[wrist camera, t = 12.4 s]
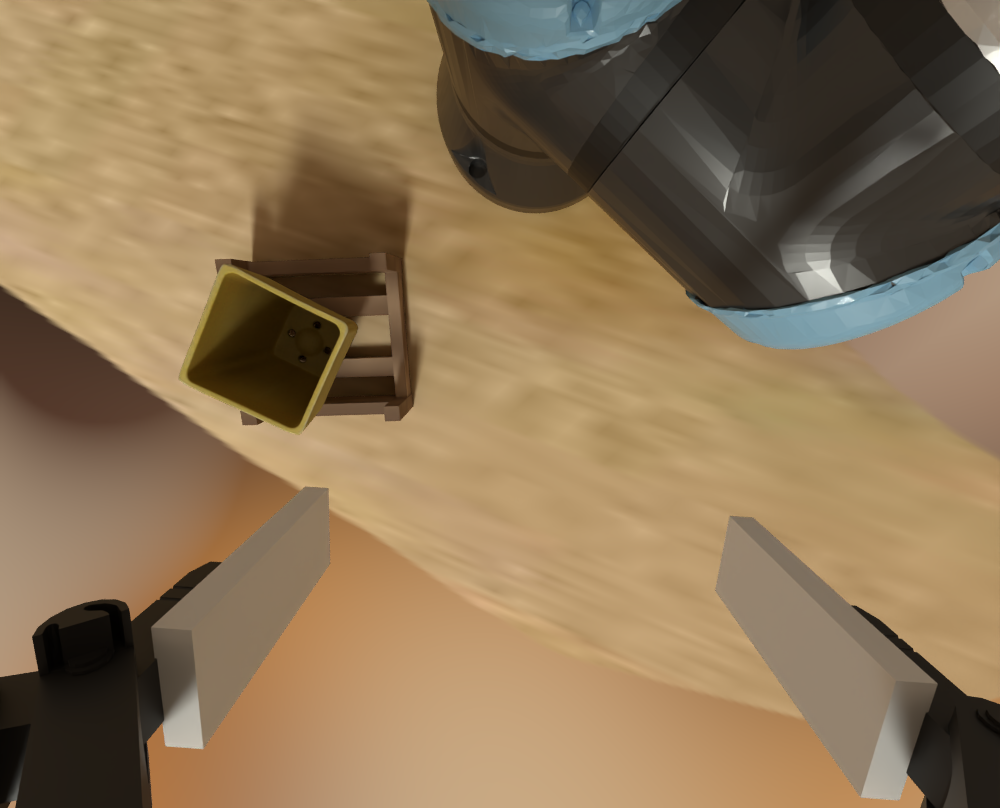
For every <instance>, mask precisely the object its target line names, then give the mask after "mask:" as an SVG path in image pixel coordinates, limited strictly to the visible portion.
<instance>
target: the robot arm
mask: <svg viewBox="0 0 1000 808" xmlns="http://www.w3.org/2000/svg"><path fill="white" fill-rule="evenodd" d="M427 2H428V3H429V6H430V9H431V12H432V16H433V19H434V23H435V26H436V30H437V33H438V36H439V40H440V43H441V47H442V50H443V57H442V60H441V64H440V68H439V74H438V81H437V111H438V118H439V123H440V128H441V132H442V135H443V138H444V141H445V143H446V146H447V148H448V151H449V153H450V155H451V157H452V159H453V161H454V163H455V165H456V167H457V168H458V170H459V171H460V173H461V174H462V176H463V177H464V178H465V179H466V181H467V182H468V183H469V184H470V185H471V186H472V187H473V188H474V189H475V190H476V191H477V192H479V193H480V194H481V195H483V196H484V197H485V198H487V199H488V200H490V201H492V202H493V203H495V204H497V205H500V206H502V207H504V208H507V209H510V210H514V211H518V212H524V213H546V212H552V211H557V210H560V209H563V208H566V207H569V206H571V205H574V204H575V203H577V202H579V201H581V200H583V199H584V198H586V197H587V196H589V197H590V198H591V199H592V200H593V201H594V202H595V203H596V204H597V205H598V206H600V207H601V208H602V209H603V210H604V211H605V212H606V213H607V214H608V215H609V216H610V217H611V218H612V219H613V220H614V221H615V222H616V223H617V224H618V225H619V226H620V227H621V228H622V229H623V230H624V231H626V232H627V233H628V234H629V235H630V236H631V237H632V238H633V239H634V240H635V241H636V242H637V243H638V244H639V245H640V246H641V247H642V248H643V249H644V250H645V251H646V252H647V253H648V254H649V255H651V256H652V257H653V258H654V259H655V260H656V261H657V262H658V263H659V264H660V265H661V266H662V267H663V268H664V269H665V270H666V271H667V272H668V273H669V274H670V275H671V276H672V277H673V278H674V279H675V280H677V281H678V282H679V283H680V284H681V285H682V286H683V287H684V288H685V290H686V295H687V296H688V297H689V298H690V299H691V300H692V301H693V302H694V303H695V304H696V305H697V306H699V307H701V308H703V309H705V310H707V311H709V312H711V313H712V314H714V315H715V316H716V317H717V318H718V319H719V320H721V321H722V322H723V323H724V324H725V325H726V326H727V327H729V328H730V329H731V330H732V331H733V332H734V333H736V334H737V335H738V336H740V337H741V338H743V339H745V340H747V341H749V342H752V343H757V344H760V345H763V346H765V347H771V348H775V349H806V348H814V347H821V346H826V345H832V344H836V343H840V342H844V341H848V340H851V339H855V338H858V337H861V336H865V335H868V334H871V333H873V332H876V331H879V330H882V329H884V328H887V327H889V326H892V325H894V324H896V323H899V322H901V321H903V320H906V319H908V318H910V317H912V316H914V315H916V314H918V313H920V312H922V311H924V310H926V309H928V308H930V307H932V306H934V305H935V304H937V303H939V302H941V301H942V300H944V299H946V298H947V297H949V296H951V295H952V294H954V293H956V292H957V291H959V290H960V289H961V288H963V285H964V278H963V277H964V276H966V275H968V274H971V273H975V272H979V271H983V270H986V269H989V268H990V267H991V266H993V265H994V264H995V263H996V262H997V261H998V260H999V259H1000V0H427ZM329 537H330V536H329V488H318V487H304V488H303V489H302V490H301V491H300V492H299V493H298V494H297V495H296V496H294V497H293V498H292V499H291V500H290V501H289V502H288V503H287V504H286V505H285V506H284V507H283V508H281V509H280V510H279V511H278V512H277V513H276V514H275V515H274V516H273V517H271V518H270V519H269V520H268V521H267V522H266V523H265V524H264V525H263V526H262V527H260V528H259V529H258V530H257V531H256V532H255V533H254V534H253V535H252V536H251V537H250V538H248V539H247V540H246V541H245V542H244V543H243V544H242V545H241V546H240V547H239V548H237V549H236V550H235V551H234V552H233V553H232V554H231V555H230V556H229V557H228V558H226V559H225V560H224V561H223V562H209V563H207V564H205V565H203V566H201V567H199V568H197V569H195V570H193V571H191V572H189V573H188V574H187V575H186V576H184V577H183V578H182V579H181V580H180V581H179V582H177V583H176V584H175V585H174V586H173V589H169V590H168V591H167V592H166V593H164V594H163V595H162V596H161V597H160V600H156V601H155V602H154V603H153V604H151V605H150V606H149V607H148V608H147V609H146V610H145V611H143V612H142V613H141V614H140V615H139V616H137V617H136V618H135V619H134V620H133V621H131V619H130V612H129V608H128V606H127V604H126V603H125V602H122V601H119V600H114V599H113V600H97V601H92V602H87V603H83V604H80V605H77V606H74V607H71V608H69V609H66V610H64V611H62V612H60V613H58V614H56V615H54V616H53V617H51V618H49V619H48V620H47V621H46V622H44V623H43V624H42V625H40V626H39V627H38V628H37V630H36V632H35V633H34V635H33V636H32V638H33V644H34V649H35V655H36V660H37V665H38V671H36V672H30V673H24V674H18V675H11V676H5V677H0V808H8V806H9V804H10V802H11V801H15V800H17V801H16V807H15V808H152V799H151V784H150V769H149V757H148V747H147V741H148V739H149V738H150V737H151V736H152V734H153V733H154V732H155V731H156V730H157V728H158V727H159V726H160V725H161V724H162V722H163V731H164V739H165V746H170V747H184V748H185V747H186V748H198V749H203V748H204V747H205V746H206V744H207V743H208V741H209V740H210V738H211V737H212V735H213V734H214V733H215V731H216V730H217V728H218V726H219V725H220V724H221V722H222V721H223V719H224V718H225V716H226V715H227V713H228V712H229V710H230V709H231V708H232V706H233V705H234V703H235V702H236V700H237V699H238V697H239V696H240V695H241V693H242V692H243V690H244V689H245V687H246V686H247V684H248V683H249V681H250V680H251V678H252V677H253V676H254V674H255V672H256V671H257V670H258V668H259V667H260V665H261V664H262V662H263V661H264V659H265V658H266V657H267V655H268V654H269V652H270V651H271V649H272V648H273V646H274V645H275V643H276V642H277V640H278V639H279V637H280V636H281V635H282V633H283V632H284V630H285V629H286V627H287V626H288V624H289V623H290V621H291V620H292V618H293V617H294V616H295V614H296V613H297V611H298V610H299V608H300V607H301V605H302V604H303V602H304V601H305V599H306V598H307V596H308V595H309V594H310V592H311V591H312V589H313V587H314V586H315V585H316V583H317V582H318V580H319V579H320V578H321V576H322V575H323V573H324V572H325V570H326V569H327V567H328V566H329V564H330V542H329V541H330V538H329ZM715 591H716V592H717V594H718V595H719V597H720V598H721V600H722V601H723V602H724V604H725V605H726V607H727V608H728V610H729V611H730V612H731V614H732V615H733V617H734V618H735V619H736V621H737V622H738V624H739V625H740V627H741V628H742V629H743V631H744V632H745V634H746V635H747V637H748V638H749V639H750V641H751V642H752V644H753V645H754V647H755V648H756V649H757V651H758V652H759V654H760V655H761V656H762V658H763V659H764V661H765V662H766V664H767V665H768V666H769V668H770V669H771V671H772V672H773V674H774V675H775V676H776V678H777V679H778V681H779V682H780V684H781V685H782V686H783V688H784V689H785V691H786V692H787V693H788V695H789V696H790V698H791V699H792V701H793V702H794V703H795V705H796V706H797V708H798V709H799V711H800V712H801V713H802V715H803V716H804V718H805V719H806V721H807V722H808V723H809V725H810V726H811V728H812V729H813V730H814V732H815V733H816V735H817V736H818V738H819V739H820V740H821V742H822V743H823V745H824V746H825V748H826V749H827V750H828V752H829V753H830V754H831V756H832V757H833V759H834V760H835V762H836V763H837V765H838V766H839V768H840V769H841V770H842V772H843V773H844V775H845V776H846V777H847V779H848V780H849V782H850V783H851V785H852V786H853V787H854V789H855V790H856V792H857V793H858V795H859V796H860V797H861V798H875V799H888V800H900V797H901V794H902V791H903V788H904V785H905V781H906V779H907V776H909V777H910V778H911V779H912V780H913V782H914V783H915V784H916V785H917V786H918V787H919V789H920V790H921V791H922V792H923V793H924V795H925V796H924V799H923V802H922V804H921V808H1000V704H997V703H995V702H992V701H989V700H986V699H983V698H977V697H971V696H967V695H966V694H964V693H963V692H962V691H961V690H960V689H959V688H958V687H956V686H955V685H954V684H953V683H952V682H951V681H949V680H948V679H947V678H946V677H945V676H944V675H943V674H941V673H940V672H939V671H938V670H937V669H936V668H935V667H933V666H932V665H931V664H930V663H929V662H928V661H926V660H925V659H924V658H923V657H922V656H921V655H920V654H918V653H917V652H914V651H913V648H911V647H910V646H909V645H908V644H907V643H906V642H905V641H903V640H902V639H899V638H898V635H897V634H895V633H894V632H893V631H892V630H891V629H890V628H888V627H887V626H886V625H885V624H884V623H883V622H882V621H880V620H879V619H877V618H876V617H874V616H872V615H871V614H869V613H867V612H866V611H864V610H862V609H861V608H859V607H857V606H852V605H850V604H849V603H847V602H846V601H845V600H844V599H843V598H842V597H841V596H840V595H839V594H837V593H836V592H835V591H834V590H833V589H832V588H831V587H830V586H829V585H827V584H826V583H825V582H824V581H823V580H822V579H821V578H820V577H819V576H817V575H816V574H815V573H814V572H813V571H812V570H811V569H810V568H809V567H807V566H806V565H805V564H804V563H803V562H802V561H801V560H800V559H799V558H797V557H796V556H795V555H794V554H793V553H792V552H791V551H790V550H789V549H787V548H786V547H785V546H784V545H783V544H782V543H781V542H780V541H779V540H777V539H776V538H775V537H774V536H773V535H772V534H771V533H770V532H769V531H767V530H766V529H765V528H764V527H763V526H762V525H761V524H760V523H759V522H757V521H756V520H755V519H754V518H752V517H737V516H729V521H728V527H727V532H726V537H725V542H724V548H723V553H722V558H721V563H720V569H719V574H718V579H717V584H716V590H715Z"/></svg>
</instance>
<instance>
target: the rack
mask: <svg viewBox="0 0 1000 808" xmlns="http://www.w3.org/2000/svg"><path fill="white" fill-rule="evenodd" d="M215 263H216V269H217V275H218V272H219V270H220V268H221V266H222V265H223V264H231V265H234V266H237V267H240V268H242V269H245V270H248V271H251V272H254V273H256V274H259V275H262V276H265V277H267V278H268V277H284V276H309V275H334V274H360V273H385V281H386V292H387V295H384V296H357V297H331V298H308V299H310V300H312V301H313V302H315V303H317V304H319V305H321V306H323V307H325V308H327V309H329V310H331V311H334V312H336V313H338V314H340V315H342V316H371V315H389V326H390V337H391V348H392V356H380V357H349V358H344V360H343V362H342V364H341V366H340V368H339V371H338V373H337V375H336V377H335V378H340V377H371V376H394V382H395V393H396V395H376V396H343V397H327V398H326V400H325V402H324V404H323V406H322V408H321V410H320V411H319V412H318V413H317V415H316V416H333V415H368V414H384V415H385V421H400V420H401V419H402V418H403V417H404V416H405V415H406V414H407V413H408V411H409V410H410V409H411V408H412V407H413V397H412V393H411V386H410V374H409V362H408V350H407V337H406V325H405V313H404V300H403V288H402V276H401V273H402V261H401V258H399V257H396V256H393V255H391V254H388V253H369V257H365V258H340V259H316V260H291V261H266V262H250V261H242V260H235V259H217V260H215ZM300 361H301V362H305V361H306V359H300ZM240 412H241V418H242V424H243V425H258V424H260V423H262V422H264V421H262V420H260V419H258V418H256V417H254V416H252V415H250V414H247V413H245V412H243V411H240Z"/></svg>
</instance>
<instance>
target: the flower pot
mask: <svg viewBox="0 0 1000 808" xmlns="http://www.w3.org/2000/svg"><path fill="white" fill-rule="evenodd" d="M315 322H320V324H321V327H320V328H315V326H314V324H315ZM290 330H294V331H295V336H290V335H289V331H290ZM357 330H358V326H357V324H356V323H355V322H354V321H352V320H350V319H348V318H346V317H344V316H342V315H340V314H338V313H336V312H334V311H331V310H329V309H327V308H325V307H323V306H321V305H319V304H317V303H315V302H313V301H312V300H310V299H308V298H306V297H304V296H302V295H300V294H298V293H296V292H294V291H292V290H290V289H288V288H286V287H285V286H283V285H281V284H279V283H277V282H275V281H273V280H271V279H269V278H267V277H265V276H262V275H259V274H256V273H254V272H251V271H248V270H245V269H242V268H240V267H237V266H234V265H231V264H223V265H222V266H221V268H220V270H219V272H218V275H217V277H216V280H215V283H214V285H213V288H212V290H211V293H210V296H209V299H208V301H207V304H206V307H205V309H204V312H203V314H202V317H201V319H200V322H199V325H198V327H197V330H196V332H195V335H194V337H193V340H192V343H191V345H190V347H189V350H188V352H187V355H186V358H185V360H184V363H183V365H182V368H181V371H180V375H179V380H180V381H181V382H182V383H183V384H185V385H187V386H188V387H190V388H193V389H195V390H197V391H199V392H201V393H203V394H205V395H208V396H210V397H212V398H214V399H217V400H219V401H221V402H223V403H225V404H228V405H230V406H232V407H234V408H236V409H238V410H241V411H243V412H245V413H247V414H250V415H252V416H254V417H256V418H258V419H260V420H262V421H265V422H267V423H269V424H271V425H273V426H275V427H277V428H279V429H281V430H284V431H286V432H289V433H292V434H295V435H300V434H301V433H302V432H303V431H304V429H305V428H306V427H307V426H308V425H309V423H310V422H311V421H312V420H313V418H314V417H315V416H316V415H317V413H318V412H319V411H320V410H321V408H322V406H323V404H324V402H325V400H326V398H327V395H328V393H329V391H330V389H331V386H332V384H333V382H334V380H335V377H336V375H337V373H338V371H339V368H340V366H341V364H342V362H343V360H344V358H345V356H346V353H347V351H348V349H349V347H350V345H351V343H352V341H353V339H354V337H355V335H356V333H357ZM327 347H328V348H330V349H331V353H330V354H326V353H325V351H324V350H325V348H327ZM300 356H305V357H306V361H305V362H301V361H300V359H299V358H300Z"/></svg>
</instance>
